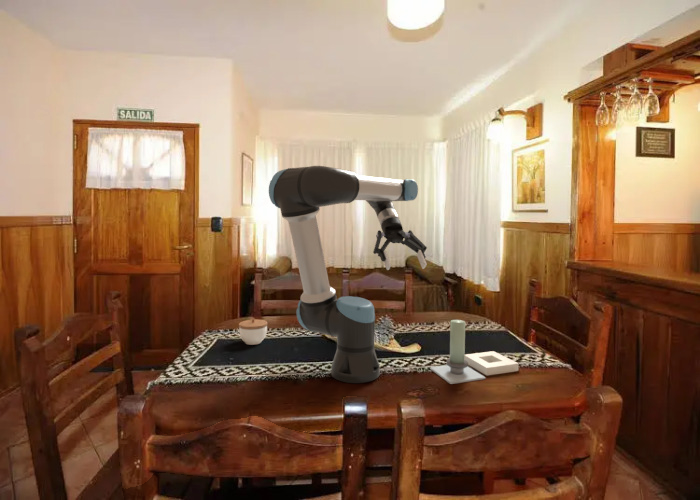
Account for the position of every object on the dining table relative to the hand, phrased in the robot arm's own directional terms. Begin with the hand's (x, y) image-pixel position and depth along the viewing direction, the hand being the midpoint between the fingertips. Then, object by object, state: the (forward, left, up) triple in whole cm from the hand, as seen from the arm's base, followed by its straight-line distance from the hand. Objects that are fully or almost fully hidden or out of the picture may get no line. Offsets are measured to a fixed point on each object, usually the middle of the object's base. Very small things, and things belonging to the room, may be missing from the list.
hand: (407, 267), depth 134 cm
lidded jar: (-50, +32, -32) cm, 67 cm away
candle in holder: (+8, -19, -31) cm, 37 cm away
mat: (+8, -19, -31) cm, 38 cm away
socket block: (+22, -17, -31) cm, 42 cm away
